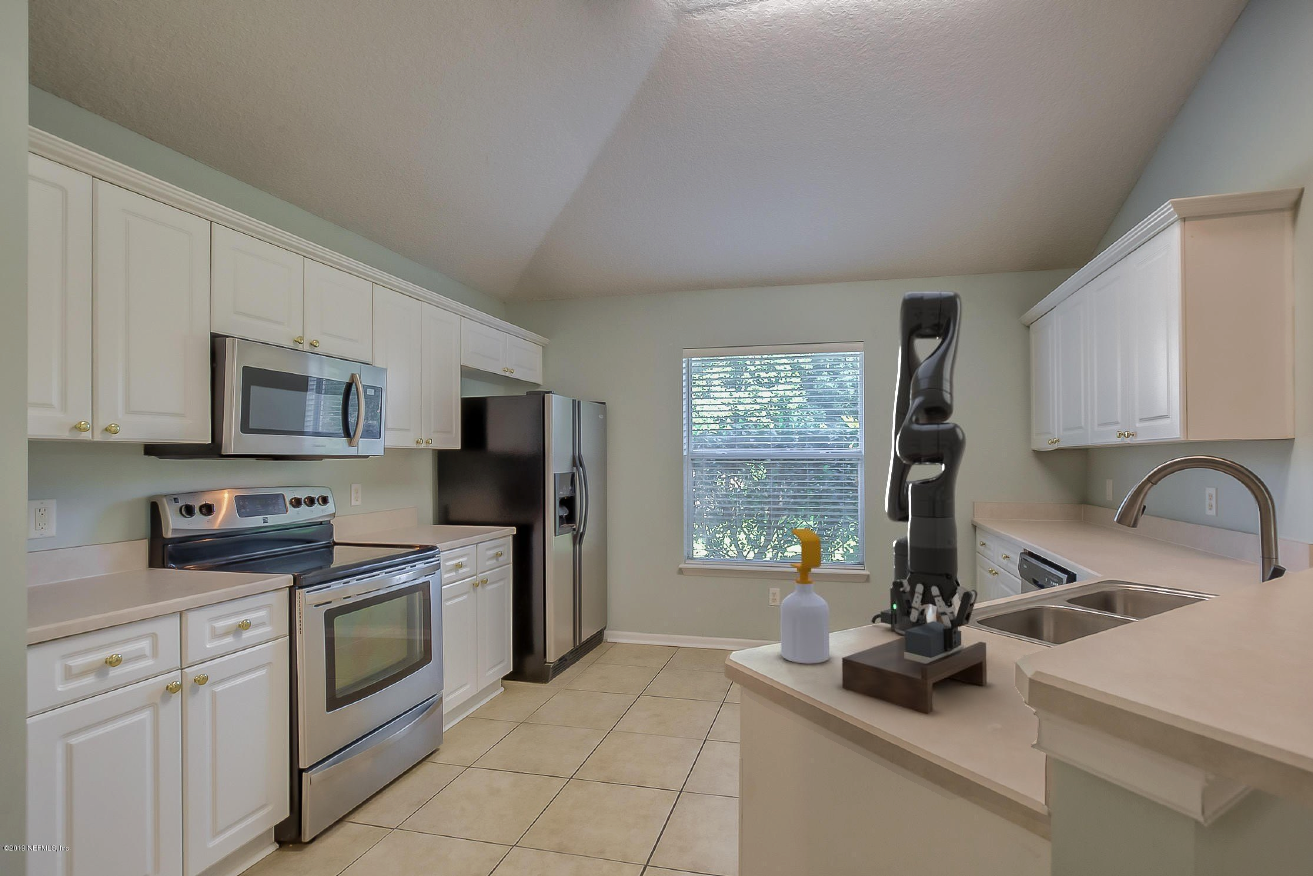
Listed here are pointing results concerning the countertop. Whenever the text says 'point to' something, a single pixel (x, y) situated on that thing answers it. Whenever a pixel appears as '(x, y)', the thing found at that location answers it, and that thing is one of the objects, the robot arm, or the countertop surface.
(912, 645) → the stepped grey pillar
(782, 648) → the soap bottle
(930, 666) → the board
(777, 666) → the countertop surface
